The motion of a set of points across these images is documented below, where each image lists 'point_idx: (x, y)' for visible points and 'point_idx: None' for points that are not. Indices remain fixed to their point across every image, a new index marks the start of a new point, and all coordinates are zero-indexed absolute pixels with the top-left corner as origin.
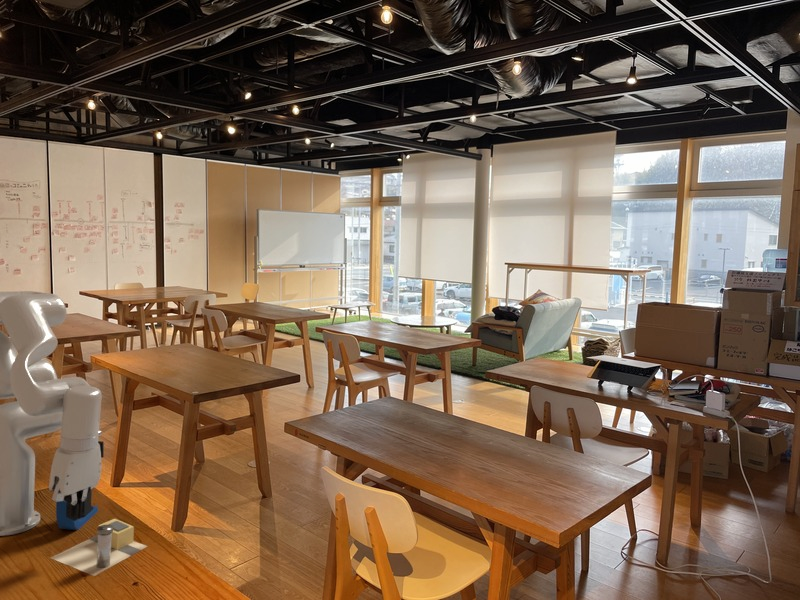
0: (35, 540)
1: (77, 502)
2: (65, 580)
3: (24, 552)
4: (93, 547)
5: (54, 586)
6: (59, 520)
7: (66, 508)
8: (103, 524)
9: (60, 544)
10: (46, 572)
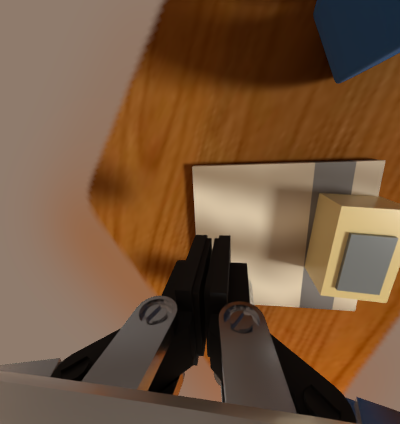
0: (246, 7)
1: (207, 344)
2: (170, 252)
3: (186, 60)
4: (285, 211)
5: (147, 251)
6: (316, 24)
7: (168, 282)
8: (355, 214)
9: (268, 101)
10: (165, 197)
